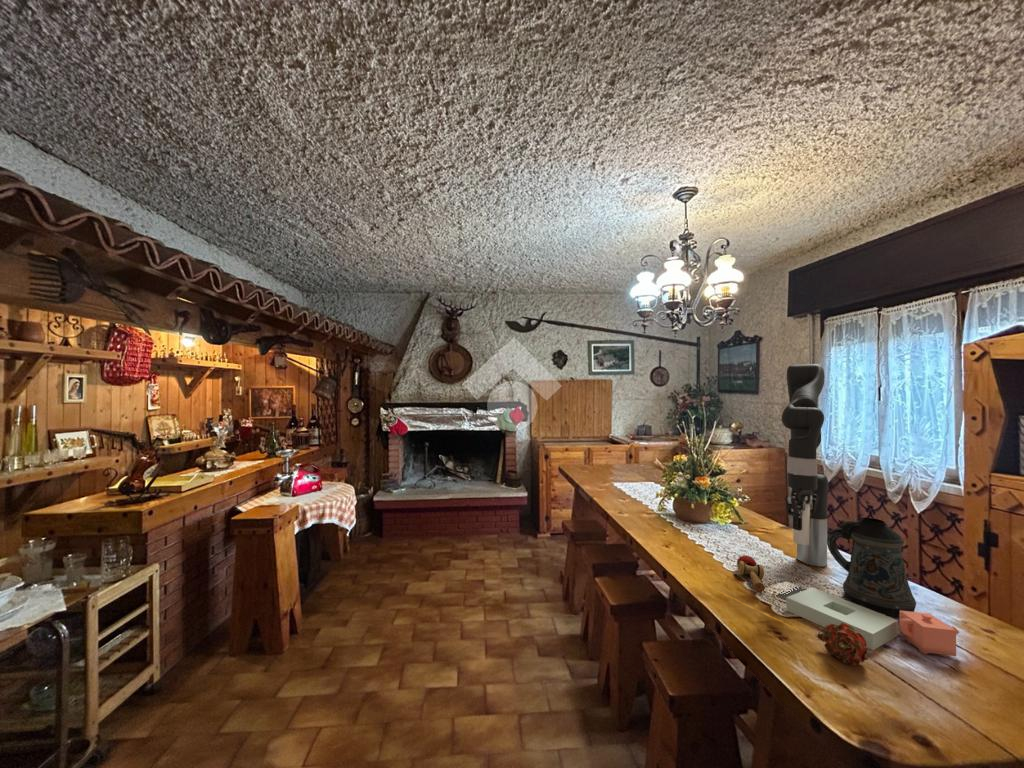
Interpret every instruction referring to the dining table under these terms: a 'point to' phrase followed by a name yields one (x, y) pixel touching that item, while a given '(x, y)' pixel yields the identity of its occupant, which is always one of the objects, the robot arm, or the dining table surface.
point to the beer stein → (874, 567)
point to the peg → (803, 528)
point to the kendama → (751, 571)
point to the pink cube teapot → (928, 633)
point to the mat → (790, 593)
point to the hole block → (843, 615)
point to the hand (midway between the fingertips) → (801, 528)
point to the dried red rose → (844, 643)
